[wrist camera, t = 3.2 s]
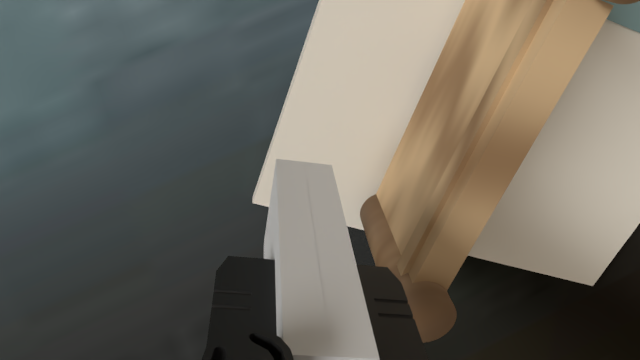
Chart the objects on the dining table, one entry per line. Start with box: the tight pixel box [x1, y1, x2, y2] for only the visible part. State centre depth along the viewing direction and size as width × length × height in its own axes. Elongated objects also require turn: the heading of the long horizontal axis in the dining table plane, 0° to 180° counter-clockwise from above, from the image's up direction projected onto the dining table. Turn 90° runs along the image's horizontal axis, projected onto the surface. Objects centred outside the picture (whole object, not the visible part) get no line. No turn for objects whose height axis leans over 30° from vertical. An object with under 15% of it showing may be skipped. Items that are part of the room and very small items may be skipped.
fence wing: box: [360, 0, 640, 343], centre depth 18 cm, size 15×2×7 cm, turn 160°
